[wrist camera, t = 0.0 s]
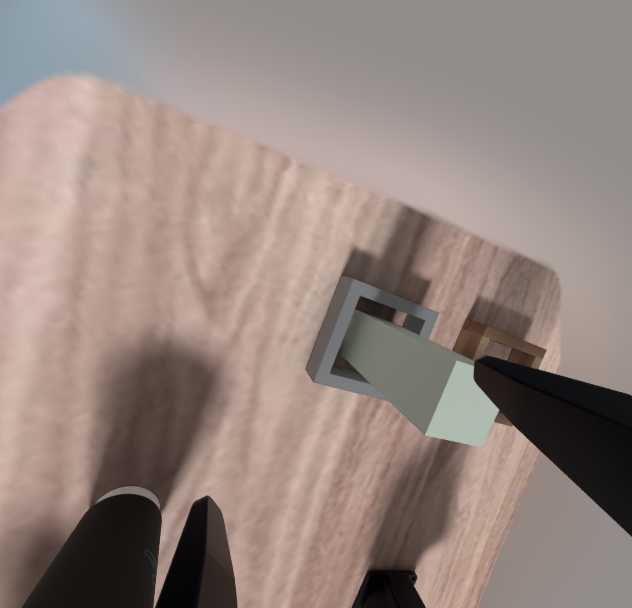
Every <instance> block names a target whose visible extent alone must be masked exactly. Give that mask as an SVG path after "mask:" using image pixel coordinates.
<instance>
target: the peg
mask: <svg viewBox="0 0 632 608" xmlns="http://www.w3.org/2000/svg"><path fill="white" fill-rule="evenodd" d="M338 353H339V354H340V355H341V356H343V357H344V358H345V359H346V360H347V361H348V362H349V363H350V364H351V365H352V366H353V367H354V368H355V369H356V370H357V371H358V372H359V373H360V374H361V375H362V376H363V377H364V378H365V379H367V380H368V381H369V382H370V383H371V384H372V385H373V386H374V387H375V388H376V389H377V390H378V391H379V392H380V393H381V394H382V395H383V396H384V397H385V398H386V399H387V400H388V401H389V402H390V403H392V404H393V405H394V406H395V407H396V408H397V409H398V410H399V411H400V412H401V413H402V414H403V415H404V416H405V417H406V418H407V419H408V420H409V421H410V422H411V423H412V424H413V425H414V426H416V427H417V428H418V429H419V430H420V431H421V432H422V433H423V434H424V435H425V436H430V437H435V438H439V439H444V440H449V441H454V442H459V443H463V444H468V445H473V446H478V447H483V445H484V443H485V440H486V438H487V436H488V434H489V431H490V429H491V427H492V425H493V422H494V420H495V418H496V416H497V413H498V411H499V409H498V408H497V407H496V406H495V405H494V404H493V402H492V401H491V400H490V399H489V398H488V397H487V396H486V395H485V393H484V392H483V391H482V390H481V389H480V388H479V387H478V385H477V384H476V383H475V381H474V378H473V372H474V362H475V361H473V360H471V359H469V358H467V357H464V356H462V355H460V354H458V353H456V352H454V351H452V350H450V349H447V348H445V347H443V346H441V345H439V344H437V343H435V342H433V341H430V340H428V339H426V338H424V337H422V336H420V335H418V334H416V333H413V332H411V331H409V330H407V329H405V328H403V327H401V326H399V325H396V324H394V323H392V322H389V321H387V320H384V319H381V318H378V317H375V316H373V315H370V314H367V313H364V312H361V311H359V310H356V309H355V310H354V312H353V315H352V317H351V320H350V323H349V325H348V328H347V330H346V333H345V335H344V338H343V340H342V343H341V346H340V348H339V351H338Z"/></svg>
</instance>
